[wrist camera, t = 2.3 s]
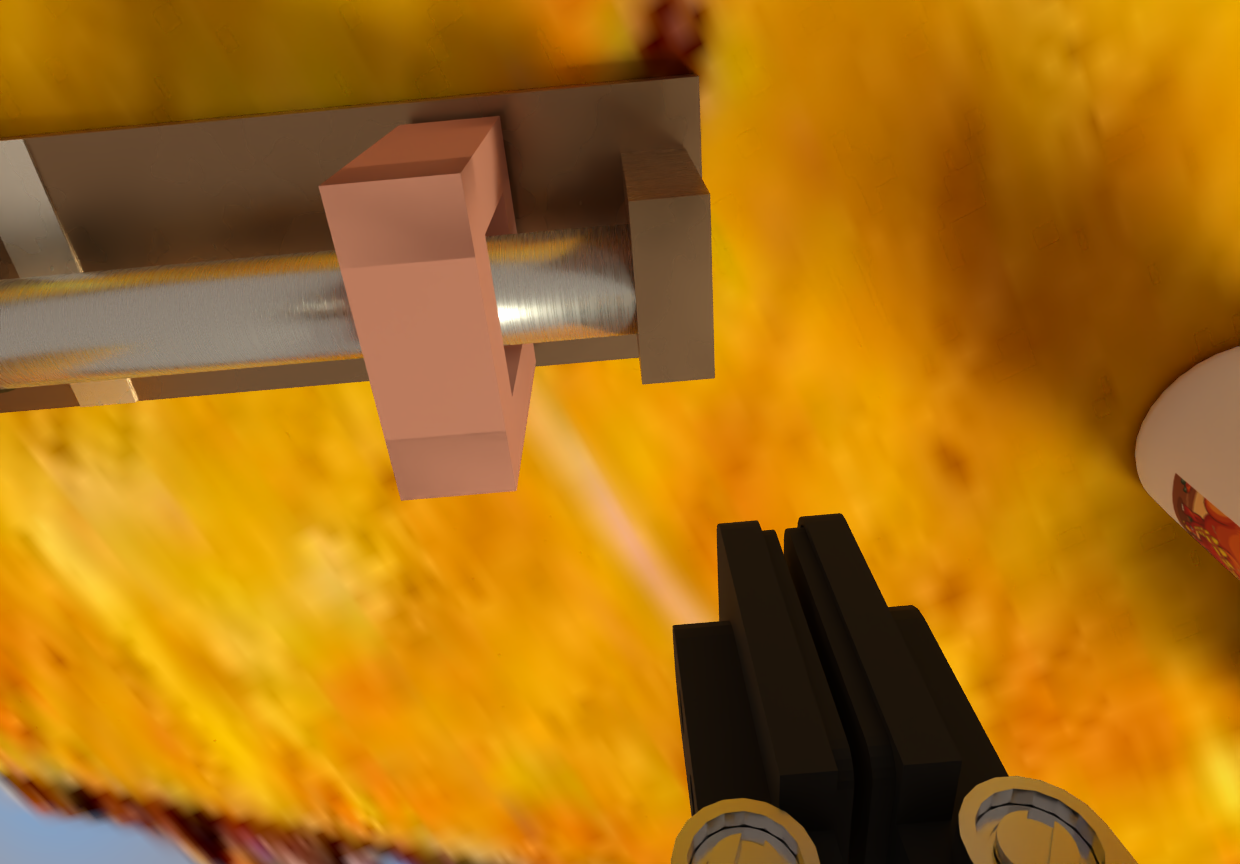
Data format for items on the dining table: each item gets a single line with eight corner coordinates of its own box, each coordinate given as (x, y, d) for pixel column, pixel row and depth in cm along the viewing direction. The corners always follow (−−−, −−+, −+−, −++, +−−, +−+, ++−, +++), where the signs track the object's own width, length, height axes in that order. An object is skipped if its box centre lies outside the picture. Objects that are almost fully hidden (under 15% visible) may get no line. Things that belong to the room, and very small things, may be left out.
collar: (399, 125, 24) (318, 186, 17) (499, 115, 24) (460, 173, 17) (449, 368, 28) (401, 500, 21) (536, 361, 28) (516, 490, 21)
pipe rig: (-290, 164, 25) (-577, 225, 19) (695, 73, 25) (730, 105, 18) (-133, 415, 30) (-325, 530, 23) (704, 342, 29) (734, 441, 23)
